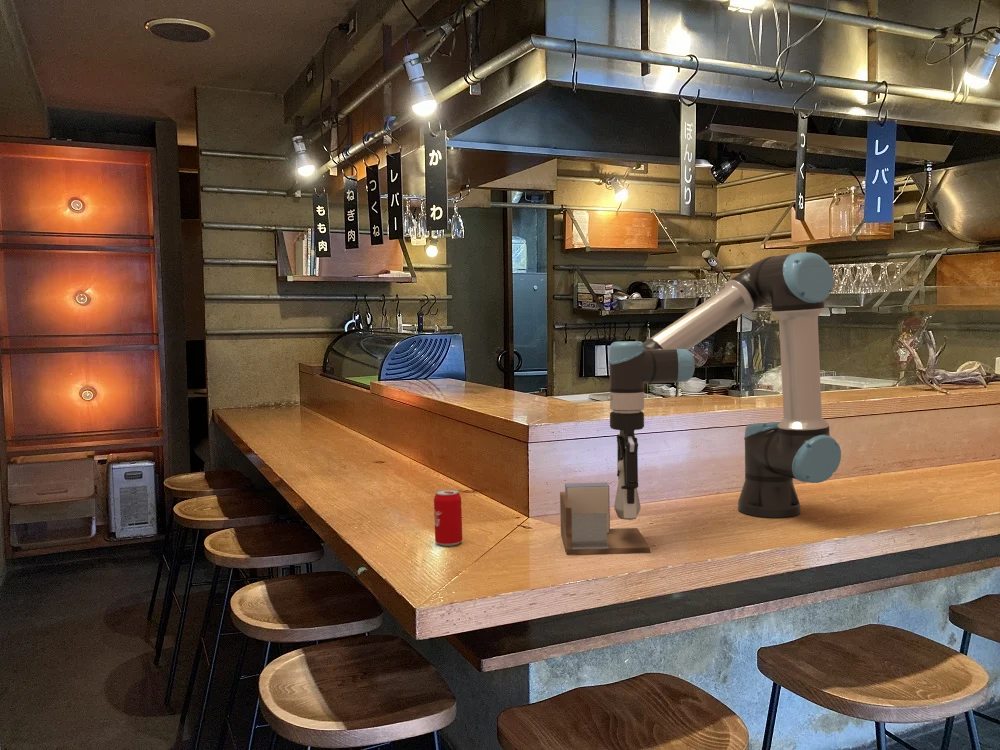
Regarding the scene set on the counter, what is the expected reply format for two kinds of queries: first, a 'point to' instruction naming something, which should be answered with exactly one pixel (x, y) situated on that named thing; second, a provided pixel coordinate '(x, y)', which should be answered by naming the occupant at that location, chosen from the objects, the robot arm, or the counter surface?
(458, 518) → the beverage can
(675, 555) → the counter surface
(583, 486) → the book block
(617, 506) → the salt shaker
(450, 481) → the counter surface
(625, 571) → the counter surface
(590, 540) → the bookend
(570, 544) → the wooden l-bracket
